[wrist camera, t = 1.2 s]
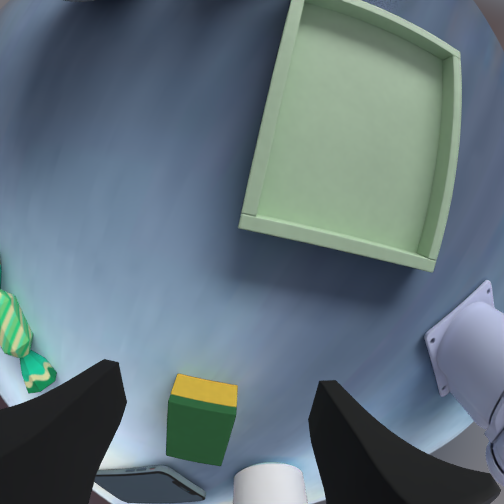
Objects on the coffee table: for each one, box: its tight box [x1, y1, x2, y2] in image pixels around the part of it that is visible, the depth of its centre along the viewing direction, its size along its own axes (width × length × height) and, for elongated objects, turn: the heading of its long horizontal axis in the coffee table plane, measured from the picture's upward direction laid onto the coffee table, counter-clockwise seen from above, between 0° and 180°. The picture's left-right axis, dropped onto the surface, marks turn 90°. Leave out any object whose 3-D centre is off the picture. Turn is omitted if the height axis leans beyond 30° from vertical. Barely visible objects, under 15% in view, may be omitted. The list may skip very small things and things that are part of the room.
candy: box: [0, 264, 57, 393], centre depth 16 cm, size 12×3×4 cm
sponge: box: [166, 374, 238, 466], centre depth 18 cm, size 7×4×3 cm, turn 168°
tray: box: [238, 0, 462, 272], centre depth 14 cm, size 17×13×2 cm
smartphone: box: [94, 465, 206, 503], centre depth 23 cm, size 8×2×15 cm
